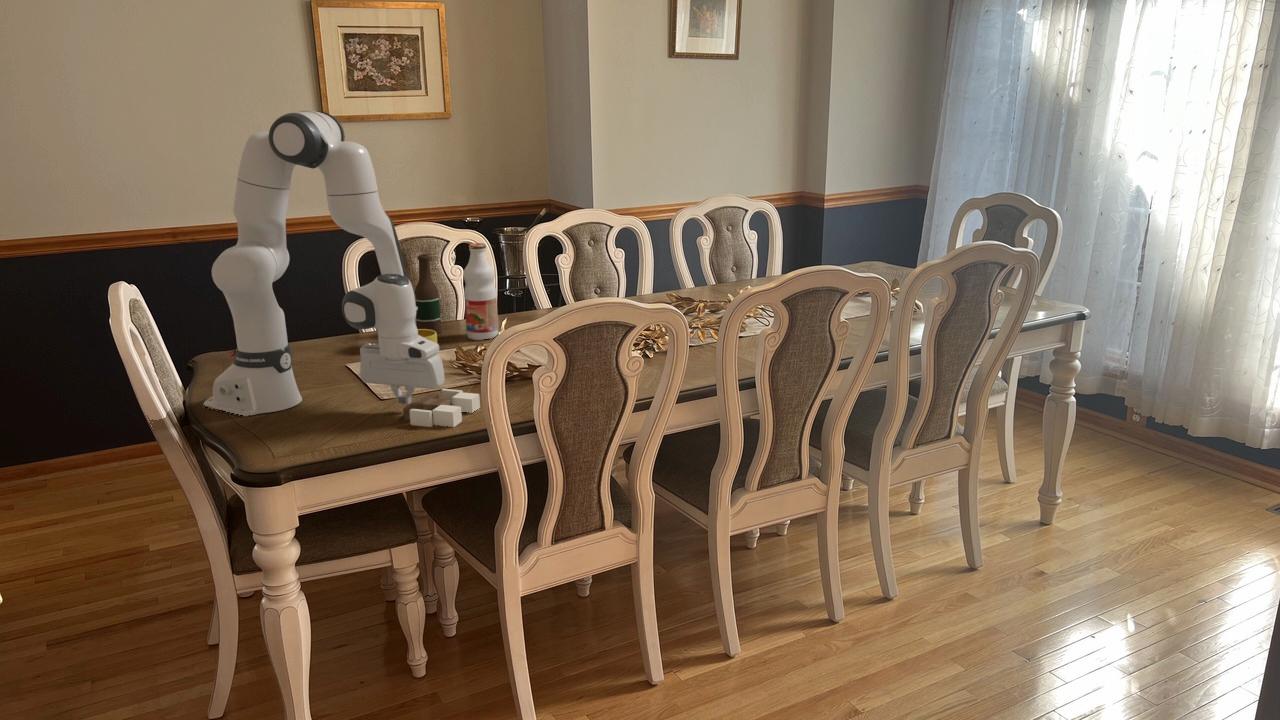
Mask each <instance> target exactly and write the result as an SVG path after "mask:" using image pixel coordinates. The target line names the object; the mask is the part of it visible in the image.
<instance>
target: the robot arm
mask: <svg viewBox="0 0 1280 720" xmlns="http://www.w3.org/2000/svg"><path fill="white" fill-rule="evenodd" d="M345 138H346V136H345V131H344V127H343V125H342V124H341V122H340V121H339V120H338V119H337V118H336V117H335V116H333V115H331V114H330V113H328V112H325V111H321V110H320V111H319V110H318V111H317V110H315V111H314V110H301V111H297V112H289V113H288V112H287V113H285V114H283V115H281V116H279V117H278V118H277V119H275V121H273V122H272V124H271V126H270V129H269V131H259V132H255V133H253V134H251V135H250V136H249V137H248V138H247V140H246V143H245V145H244V148H243V151H242V154H241V158H240V161H239V162H240V163H239V166H238V172H237V173H238V174H237V179H236V186H235V192H234V193H235V194H234V203H233V209H232V211H233V215H234V217H235V218H236V219H235V220H236V225H237V235H238V236H237V242H236V244H235V245H233V246H231V247H229V248H226V249H225V250H224V251H223V252H221V254H219V256H218V257H217V258H216V259H215V261H214V262H213V264H212V267H211V277H212V280H213V282H214V284H215V285H216V287H217V288H218V289H219V290H220V291H221V292H222V294H223V296H224V297H225V300H226V302H227V305H228V307H229V310H230V313H231V316H232V320H233V327H234V331H235V332H234V333H235V338H236V345H237V348H235V349H234V350H231V351H230V352H228V354H229V355H228V358H231V357H233V361H232V364H231V365H229V367H227V368H226V369H225V370H224V371H223V372H222V373H221V374H219V375H218V376H217V377H216V378H215V379H214V382H213V385H212V396H210V397H209V398H207V399H206V400H205V401H204V402H203V406H204V405H205V406H209V407H212V408H215V409H219V410H223V411H226V412H225V413H227V412H230V413H229V414H231V413H234V414H233V415H236V414H239V415H238V416H240V415H243V416H242V417H250V416H255V415H258V414H260V415H261V414H265V413H273V412H274V413H275V412H279V411H284V410H287V409H290V408H293V407H296V406H297V405H299V404H300V403H301V402H302V400H303V397H302V395H301V394H300V391H299V387H298V385H297V382H296V379H295V375H294V374H295V373H294V371H293V366H292V364H293V363H292V361H293V360H292V359H293V356H292V349H291V344H290V343H289V342H288V333H287V326H286V317H285V312H284V310H283V308H281V307H280V306H279V303H278V302H277V298H276V296H275V293H274V289H273V283H274V282H276V281H277V280H279V279H280V278H281V277H282V276H283V275H284V273H285V272H286V270H287V269H288V266H289V265H290V253H289V251H288V250H289V249H288V248H287V247H288V246H287V233H286V231H287V229H286V226H287V225H286V224H287V223H286V220H287V211H288V205H289V199H290V190H291V185H292V177H293V173H294V169H295V167H296V165H297V166H301V167H304V168H308V169H309V168H310V169H316V168H317V169H319V170H320V172H321V174H322V176H323V179H324V184H325V194H326V199H327V200H326V202H327V207H328V211H329V214H330V217H331V220H332V221H333V222H334V223H335V224H336V226H338V227H339V228H340V229H342V230H344V231H346V232H347V233H350V234H354V235H357V236H359V237H363V238H365V239H367V240H368V241H369V242H370V243H371V245H372V246H373V248H374V253H375V255H376V259H377V263H378V267H379V270H380V275H378V276H376V278H374V279H373V281H371V282H369V283H367V284H365V285H363V286H359V287H356V288H353V289H352V290H349V291H347V292H346V293H345V294H344V296H343V299H342V302H341V311H342V314H343V315H342V316H343V317H344V319H345V321H346V323H347V324H348V325H349V326H350V327H352V328H354V329H356V330H369V329H375V330H377V338H378V343H369V342H367V343H364V345H362V346H361V347H360V349H359V354H360V366H359V367H360V368H359V369H360V370H359V371H360V374H359V375H360V379H361V380H362V382H363V383H364V384H373V385H385V386H386V385H387V386H390V389H391V391H392V393H393V394H394V396H395V397H396V404H402V405H409V404H411V403H412V402H413V401H412V396H413V394H414V391H415V389H416V388H419V389H428V390H436V389H439V388H440V387H441V386H443V384H444V383H445V379H446V377H445V370H444V365H443V360H442V357H441V356H440V355H439V354H438V352H439V351H440V345H439V343H438V342H437V343H435V342H433V341H430V340H428V339H426V338H424V337H422V336H420V335H418V329H417V323H416V296H415V289H414V287H413V284H412V283H411V281H410V278H409V275H408V272H407V268H406V264H405V260H404V257H403V252H402V250H401V245H400V242H399V237H398V235H397V231H396V227H395V224H394V222H393V220H392V218H391V217H390V215H389V214H387V213H386V211H385V210H384V208H383V205H382V203H381V200H380V195H379V189H378V182H377V179H376V178H377V177H376V172H375V169H374V165H373V161H372V158H371V155H370V153H369V151H368V149H367V148H366V147H365V146H364V145H362V144H360V143H357V142H355V141H349V140H348V141H345ZM401 387H404V390H405V391H406V394H404V393H403V392H402V390H401V389H400V388H401ZM249 415H250V416H249Z"/></svg>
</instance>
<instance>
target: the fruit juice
mask: <svg viewBox="0 0 1280 720" xmlns="http://www.w3.org/2000/svg"><path fill="white" fill-rule="evenodd" d="M468 249H469V252H470V253H469V254H470V255H469V260H468V263H467V265H466V266H465V268H464V269H463V279H464V282H465V286H464V291H463V293H464V297H463V298H464V309H465V310H464V311H465V325H466V327H465V328H466V336H467V338H468V339H469V340H473V341H482V340H481V339H488V338H492V337H493V338H494V337H495V336H496V335H497V334H498V335H499V319H498V318H499V315H498V302H497V301H498V299H497V289H496V286H495V282H494V281H495V278H496V272H495V269H494V267H493V266H492V265H491V264H490V262H489V260H488V258H487V255H486V250H487V245H486V243H483V242H473V243H470V244H468ZM493 338H492V339H491V340H493ZM494 339H495V338H494Z"/></svg>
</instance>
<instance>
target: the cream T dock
mask: <svg viewBox="0 0 1280 720" xmlns="http://www.w3.org/2000/svg"><path fill="white" fill-rule="evenodd" d="M441 399H443V400H451V404H452V405H451V406H450V405H440V406H438V407H437V408H435V409H434V410H433V417H432V411H430V410H420V409H411V410H410V421H409V422H410V425H411V426H416V427H417V426H418V427H426V428H427V427H429V428H432V427H433V426H438V425H439V427H440V426H441V427H447V426H448V428H456V426H457V425H459V424H460V423H462V421H463V416H462V413H461V412H467V413H466V414H471V413H473V412H474V411H476V410H477V409H478V410H480V409H481V401H480V399H481V398H480V394H479V393H471V392H464V391H463V390H461V389H452V388H451V389H448V388H442V389H441ZM479 408H480V409H479ZM478 410H477V411H478ZM477 411H476V412H477ZM468 412H469V413H468ZM474 413H475V412H474ZM474 413H473V414H474Z"/></svg>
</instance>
